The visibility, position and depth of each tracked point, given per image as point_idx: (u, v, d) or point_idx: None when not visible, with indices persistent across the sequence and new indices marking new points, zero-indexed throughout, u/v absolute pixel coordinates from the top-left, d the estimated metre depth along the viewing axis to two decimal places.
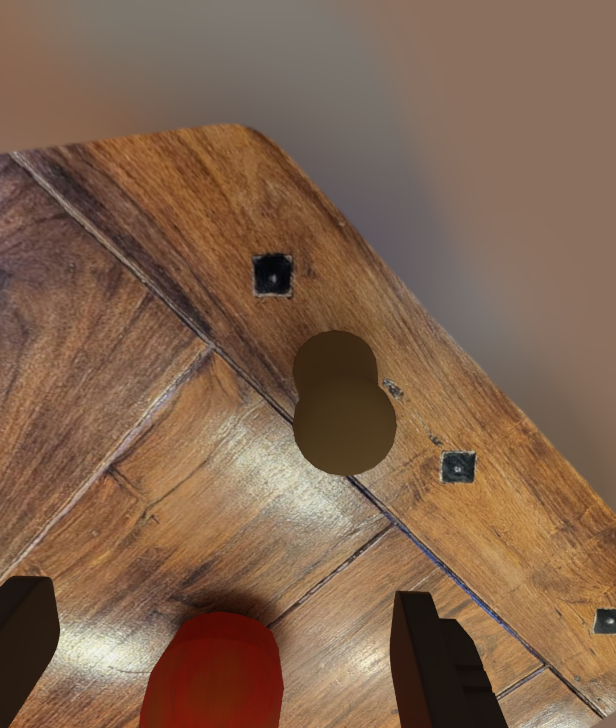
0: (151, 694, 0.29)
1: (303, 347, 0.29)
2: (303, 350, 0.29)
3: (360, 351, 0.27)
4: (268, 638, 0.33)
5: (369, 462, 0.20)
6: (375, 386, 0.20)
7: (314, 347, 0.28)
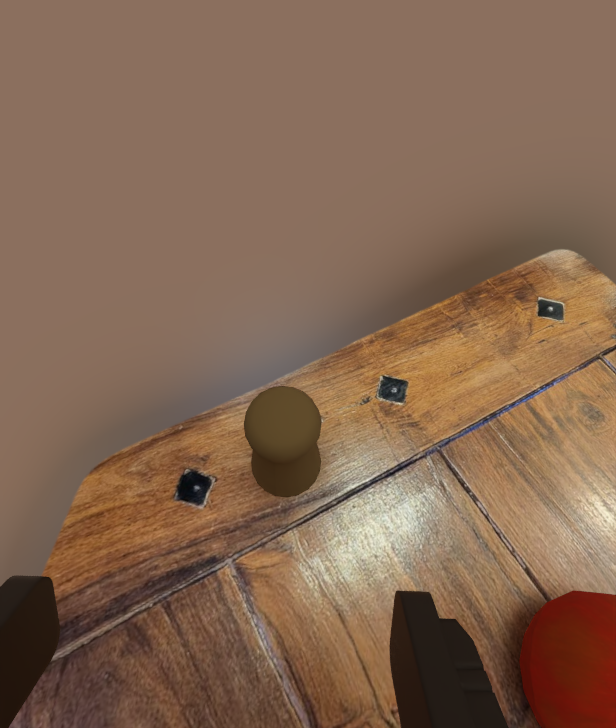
0: None
1: (256, 479, 0.35)
2: (257, 477, 0.35)
3: None
4: None
5: (306, 405, 0.28)
6: None
7: (253, 463, 0.34)
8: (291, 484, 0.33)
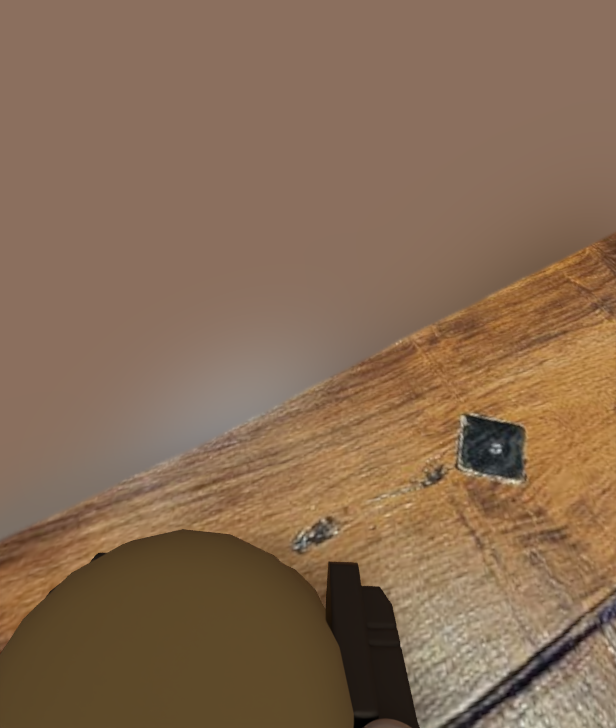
0: None
1: None
2: None
3: None
4: None
5: (278, 675, 0.05)
6: None
7: None
8: None
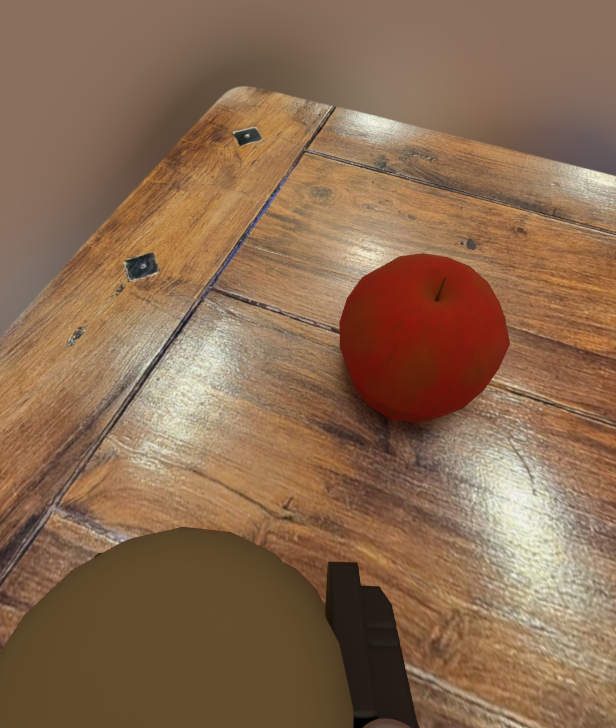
0: (412, 389, 0.23)
1: None
2: None
3: None
4: None
5: (278, 671, 0.05)
6: None
7: None
8: None
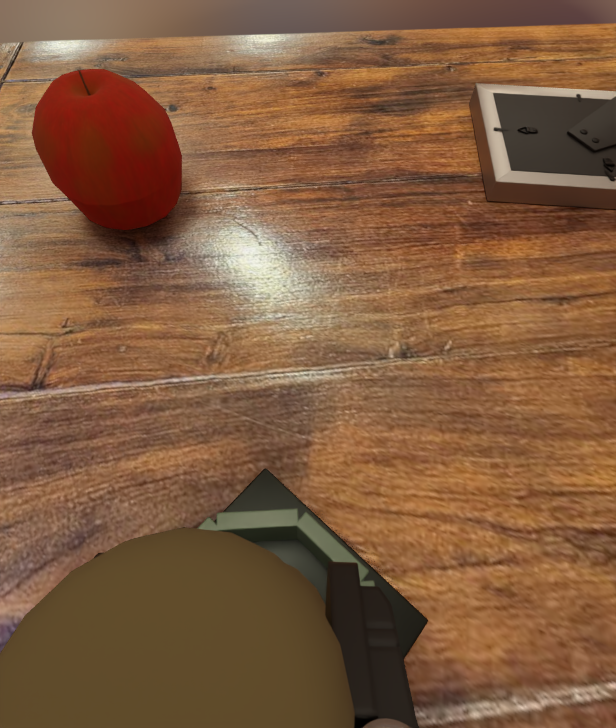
0: (100, 170, 0.29)
1: None
2: None
3: None
4: None
5: (278, 672, 0.05)
6: None
7: None
8: None
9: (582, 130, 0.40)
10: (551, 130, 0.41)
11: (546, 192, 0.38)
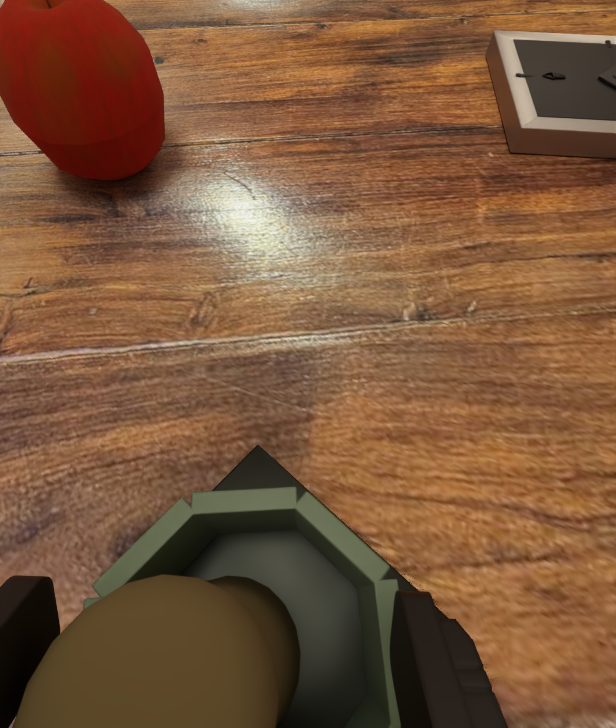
0: (64, 98, 0.25)
1: None
2: None
3: None
4: None
5: (220, 679, 0.08)
6: None
7: None
8: None
9: (615, 75, 0.36)
10: (580, 76, 0.36)
11: (578, 140, 0.33)
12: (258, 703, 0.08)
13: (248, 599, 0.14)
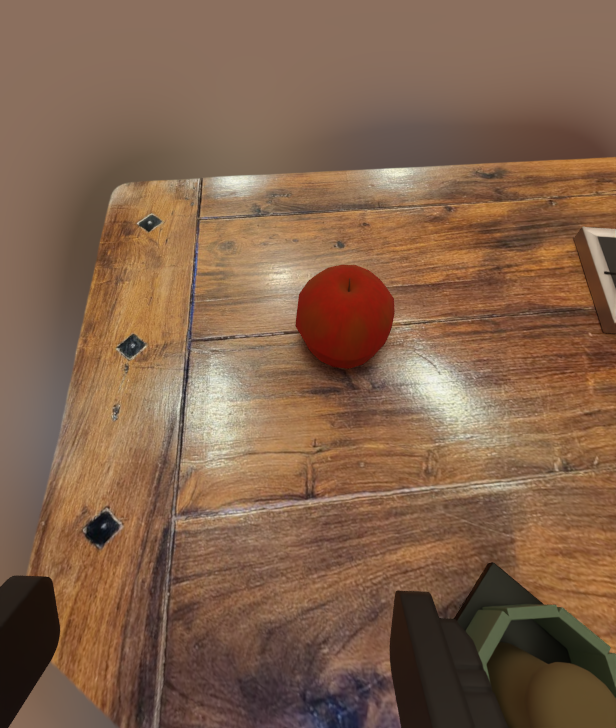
0: (358, 343, 0.41)
1: None
2: None
3: (494, 662, 0.32)
4: None
5: (612, 704, 0.24)
6: (540, 676, 0.26)
7: None
8: None
9: None
10: None
11: None
12: None
13: None
